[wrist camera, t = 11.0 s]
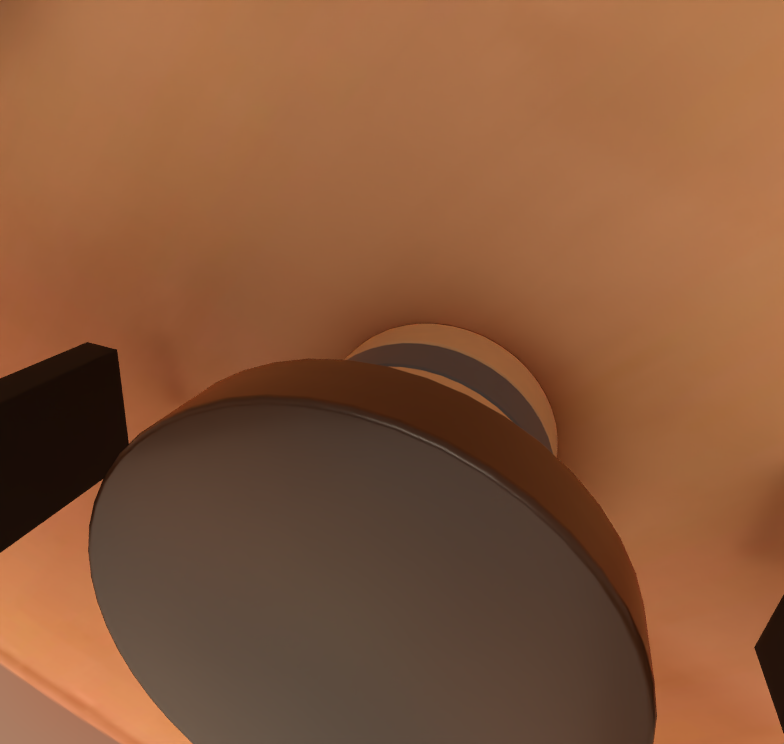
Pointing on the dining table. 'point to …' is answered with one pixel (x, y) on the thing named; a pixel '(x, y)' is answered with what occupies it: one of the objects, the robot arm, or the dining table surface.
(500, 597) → the walnut chip
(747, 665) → the dining table surface
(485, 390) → the chip stack
